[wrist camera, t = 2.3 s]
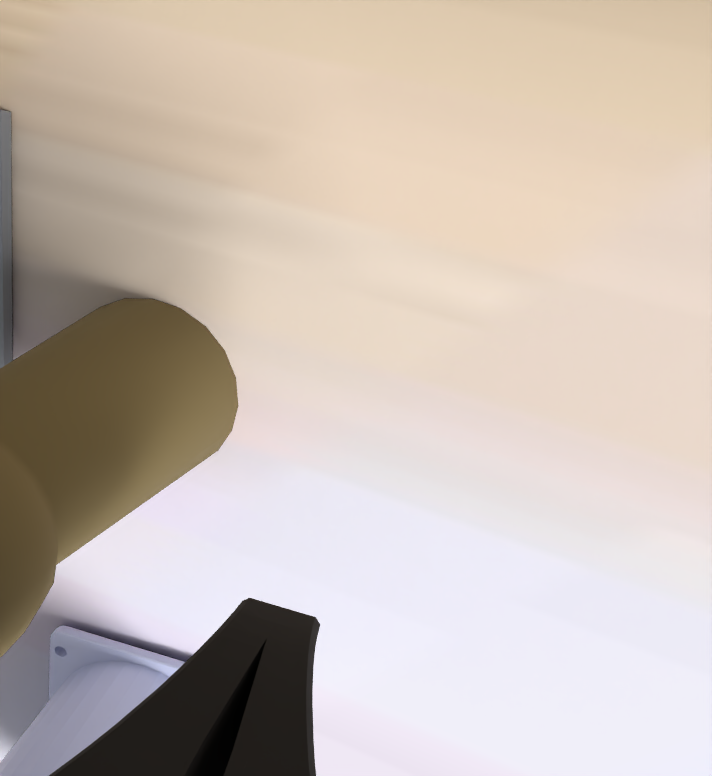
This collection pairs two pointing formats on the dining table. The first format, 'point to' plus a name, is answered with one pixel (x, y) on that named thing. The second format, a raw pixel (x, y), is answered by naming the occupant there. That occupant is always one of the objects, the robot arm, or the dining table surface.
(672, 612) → the dining table surface
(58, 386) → the cork
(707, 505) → the dining table surface
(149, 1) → the dining table surface
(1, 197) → the mat
